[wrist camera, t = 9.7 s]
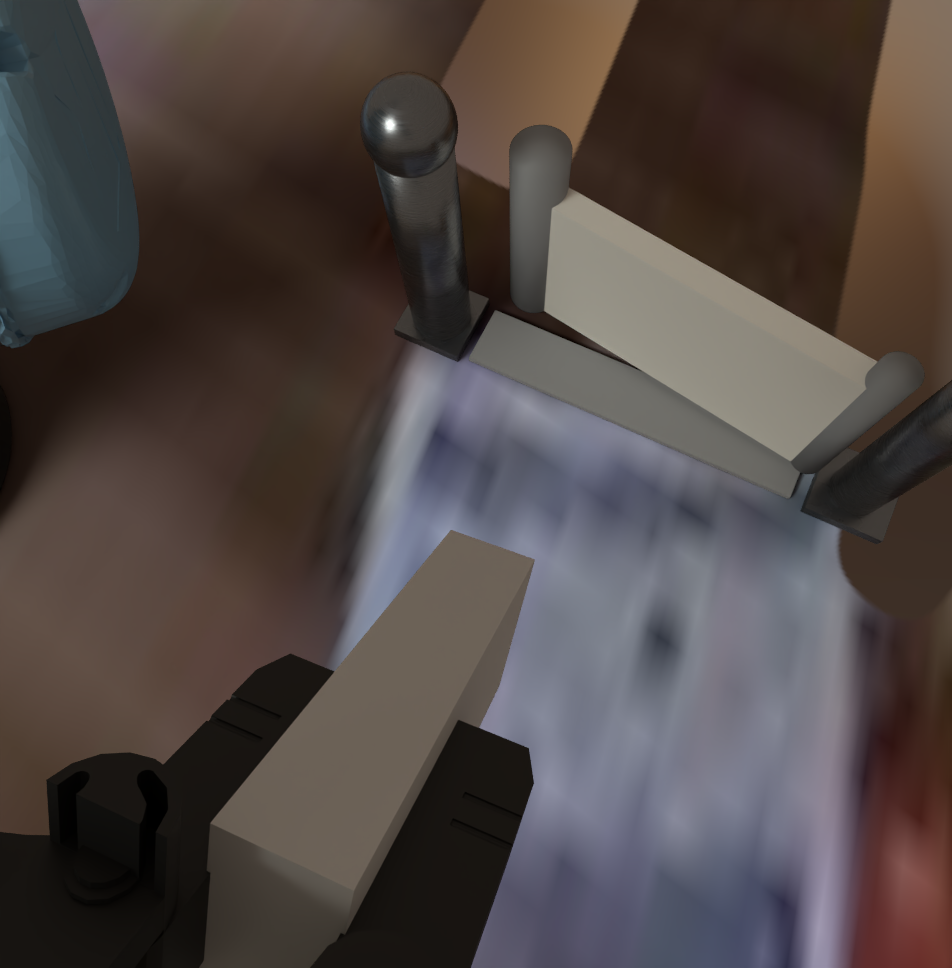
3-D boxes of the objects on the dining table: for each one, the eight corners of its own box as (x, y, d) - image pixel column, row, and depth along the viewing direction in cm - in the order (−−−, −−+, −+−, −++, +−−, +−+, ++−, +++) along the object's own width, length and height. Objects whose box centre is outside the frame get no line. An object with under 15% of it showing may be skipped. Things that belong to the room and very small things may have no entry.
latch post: (395, 334, 39) (328, 110, 25) (428, 279, 40) (381, 32, 26) (457, 361, 39) (425, 147, 24) (489, 304, 40) (476, 66, 25)
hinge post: (800, 510, 36) (954, 395, 23) (826, 445, 36) (987, 300, 24) (876, 544, 35) (1076, 443, 23) (901, 476, 36) (1106, 344, 23)
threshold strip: (469, 360, 39) (468, 357, 38) (495, 313, 39) (495, 310, 39) (788, 498, 36) (790, 497, 35) (809, 444, 36) (812, 442, 36)
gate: (835, 447, 36) (953, 344, 26) (809, 487, 35) (920, 397, 25) (528, 263, 39) (533, 115, 30) (500, 297, 39) (496, 157, 29)
